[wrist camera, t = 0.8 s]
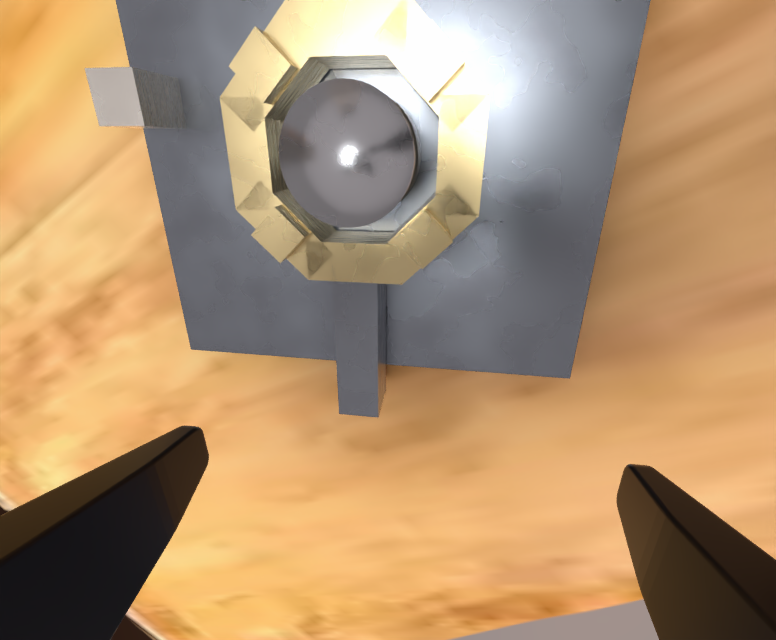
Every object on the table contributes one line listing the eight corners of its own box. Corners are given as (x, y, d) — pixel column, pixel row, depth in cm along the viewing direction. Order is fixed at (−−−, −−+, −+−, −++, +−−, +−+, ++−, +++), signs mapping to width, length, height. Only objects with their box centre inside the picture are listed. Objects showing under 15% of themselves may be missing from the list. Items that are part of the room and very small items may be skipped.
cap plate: (679, -190, 13) (784, -345, 9) (564, 368, 22) (591, 422, 17) (104, -133, 16) (-20, -232, 12) (200, 341, 24) (148, 382, 20)
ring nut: (240, 21, 16) (192, -6, 13) (492, 11, 15) (502, -22, 12) (282, 380, 23) (257, 416, 20) (458, 395, 22) (459, 435, 19)
